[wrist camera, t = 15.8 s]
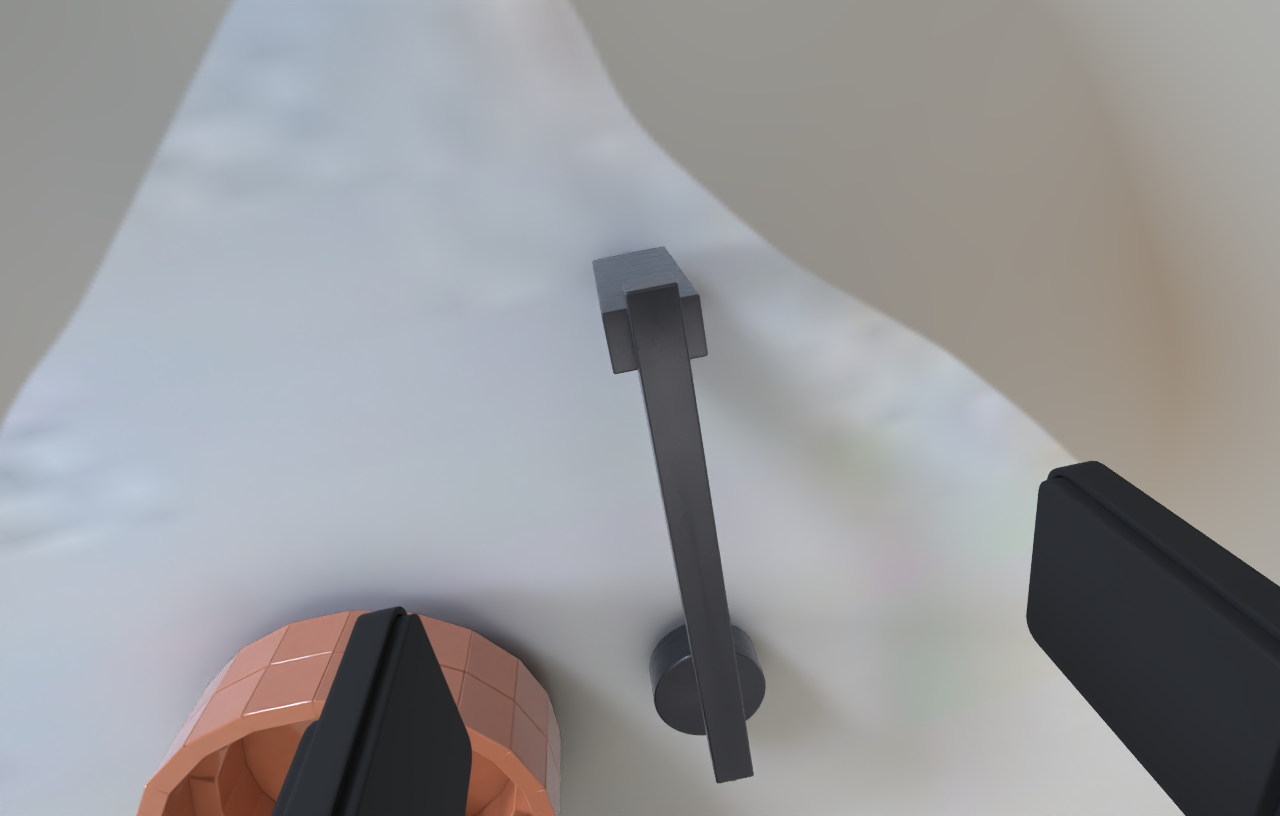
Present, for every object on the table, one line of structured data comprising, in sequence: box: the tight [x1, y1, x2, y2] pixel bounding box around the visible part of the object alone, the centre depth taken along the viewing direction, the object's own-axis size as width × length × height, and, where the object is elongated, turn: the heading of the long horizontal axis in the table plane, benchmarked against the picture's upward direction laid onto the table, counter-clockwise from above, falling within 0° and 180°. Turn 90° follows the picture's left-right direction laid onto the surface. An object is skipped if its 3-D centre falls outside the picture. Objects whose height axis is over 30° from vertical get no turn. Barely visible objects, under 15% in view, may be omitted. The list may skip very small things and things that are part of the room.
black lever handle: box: [592, 247, 766, 783], centre depth 23 cm, size 21×5×8 cm, turn 10°
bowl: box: [136, 610, 561, 816], centre depth 27 cm, size 15×15×5 cm
